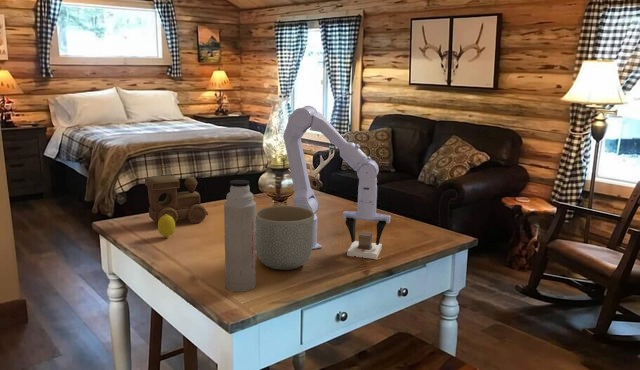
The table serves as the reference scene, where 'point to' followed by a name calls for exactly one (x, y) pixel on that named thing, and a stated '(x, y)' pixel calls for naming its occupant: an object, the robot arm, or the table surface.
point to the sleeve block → (364, 251)
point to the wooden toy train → (174, 199)
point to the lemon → (166, 225)
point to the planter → (284, 236)
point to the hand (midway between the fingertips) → (365, 242)
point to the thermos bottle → (240, 237)
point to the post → (365, 240)
